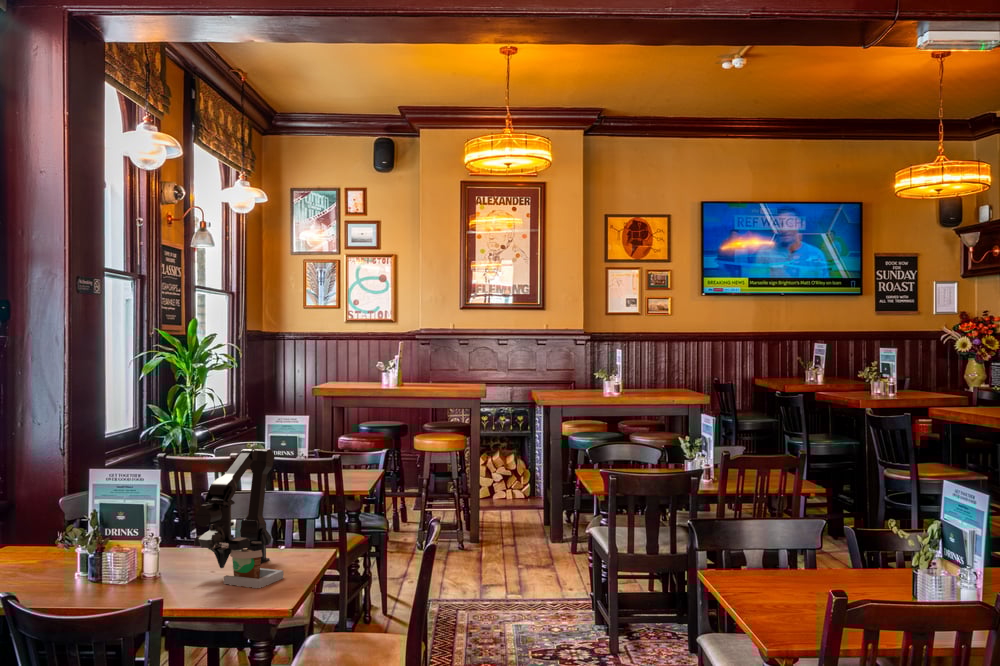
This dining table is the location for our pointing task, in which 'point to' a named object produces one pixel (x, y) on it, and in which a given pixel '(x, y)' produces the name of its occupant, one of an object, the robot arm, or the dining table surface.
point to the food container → (246, 563)
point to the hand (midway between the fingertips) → (221, 568)
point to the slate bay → (267, 578)
